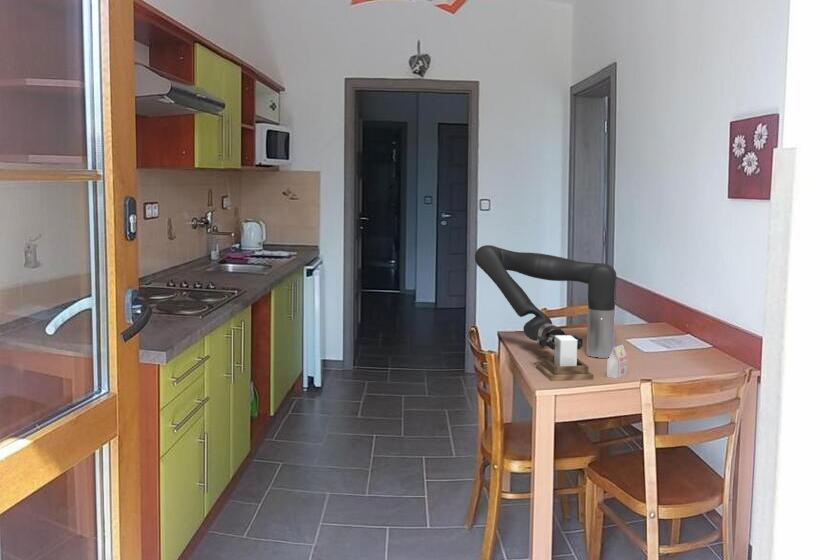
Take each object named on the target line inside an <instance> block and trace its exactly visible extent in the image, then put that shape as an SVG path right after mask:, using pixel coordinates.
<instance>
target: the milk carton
mask: <svg viewBox="0 0 820 560" xmlns="http://www.w3.org/2000/svg"><path fill="white" fill-rule="evenodd" d="M606 363H607V364H606V377H607V376H608V377H613V378H620V377H622V376H624V375H628V356H627V353H626V351H625V347H624V344H620V345H617V346H615V347H614V348H613V350H612V352H611V354H610V356H609V358H607V360H606ZM624 377H625V376H624ZM622 378H623V377H622ZM620 379H621V378H620Z"/></svg>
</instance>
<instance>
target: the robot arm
mask: <svg viewBox="0 0 820 560" xmlns="http://www.w3.org/2000/svg"><path fill="white" fill-rule="evenodd" d="M474 261H475V263H476V265H477V266H478V267H479V268H480V269H481V270H482V271H483V272H484V273H485V274H486V275H487V276H488V277H489V278H490V279H491V280H492V282H493V283H494V284H495V285H496V287H497V288H498V289H499V291H500V292H501V293H502V295H503V296H504V298H505V299H506V300H507V303H509V305H510V306H511V308H512V309H513V311H514V312H515V314H517V316H518V317H520V318H522V317H526V316H527V315H534V317H533V318H531V319H530V320H528V321H527V322H526V323H524V326H523V333H524V335H525V336H526V337H527V338H528V339H529V340H532V341H535V342H537V343H536V344H537V345H538V347H540V348H541V349H542V348H543V349H544V348H545V347H546V348H547V349H550V350H552V351H554V350H555V336H557V335H566V333H565V331H564V330H563V329H561V328H559V327H558V326H556V325H555V324H553V321H552V319H551V318H550V317H549V316H548V315H547V314H545V313H544V312H543V311H541V310H540V309H539V308H538V307H537V306H536V305H535V304H534V303H533V301H532V300H531V299H530V297H529V296H528V295H527V293H526V292H525V291H524V289H523V287H521V286H520V285H519V284H518V282H516V280H515V279H514V278H512V276H511V275H510V274H509V272H508V271H510V272H511V271H512V272H515V273H518V274H522V275H523V276H527V277H530V278H534V279H539V280H544V281H555V282H579V283H583V284H588V286H587V287H588V288H587V303H588V304H587V307H588V308H587V329H586V330H587V331H586V332H587V333H586V350H585V351H586V353H585V354H586V355H587V356H588V357H590V356H591V358H595V357H598V358H599V359H608V357H609V356H610V354H611V352H612V350H613V348H614V347H616V334H617V333H616V330H615V309H616V298H615V297H616V280H617V271H616V270H615V269H614V267H613V266H612V265H610V264H608V263H599V262H585V261H584V262H583V261H578V260H573V259H569V258H565V257H561V256H556V255H551V254H545V253H539V252H525V251H524V252H522V251H521V252H519V251H513V250H509V249H505V248H501V247H498V246H496V245H491V244H488V245H487V244H486V245H482V246H480V247H479V248H478V249H477V250H476V251H475V255H474ZM572 337H573V338H575V339H576V340H577V350H581V348H582V347H583V345H584V344H583V342H584V339H583V338H581V337H580V336H578V335H573V336H572ZM598 358H597V359H598Z"/></svg>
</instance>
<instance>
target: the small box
mask: <svg viewBox="0 0 820 560" xmlns="http://www.w3.org/2000/svg"><path fill="white" fill-rule="evenodd" d="M553 352H554V353H553V354H554V356H553V357H554V365H555V366H577V359H578V349H577V340H576V339H575V338H573V336H572V335H568V334H567V335H566V334H565V335H557V336H555V350H553Z"/></svg>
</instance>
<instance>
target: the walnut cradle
mask: <svg viewBox="0 0 820 560" xmlns="http://www.w3.org/2000/svg"><path fill="white" fill-rule="evenodd" d="M540 360H541V362H540V363H536V364H535V367H536V370H538V371H539V372H540V373H541V374H542V375H544V376H545V377H546V378H547V379H548V380H549V381H551V382H552V381H554V382H556V381H557V382H559V381H560V382H561V381H584V380H583V379H593V380H594V377H595V376H594V374H593V373H591V372H590V371H589V365H587V364H586V363H585V362H583V361H582V360H580V359H578V358H577V366H555V365H554V356H544V357H543V356H542V357H541V359H540Z"/></svg>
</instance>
